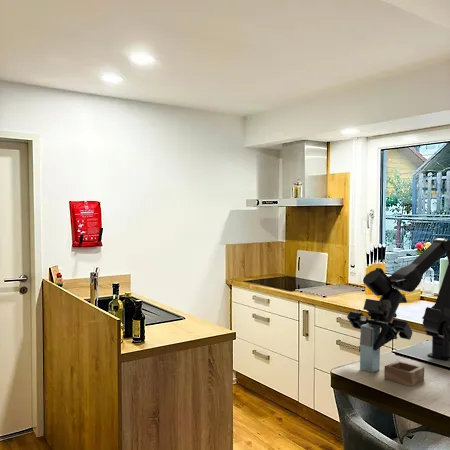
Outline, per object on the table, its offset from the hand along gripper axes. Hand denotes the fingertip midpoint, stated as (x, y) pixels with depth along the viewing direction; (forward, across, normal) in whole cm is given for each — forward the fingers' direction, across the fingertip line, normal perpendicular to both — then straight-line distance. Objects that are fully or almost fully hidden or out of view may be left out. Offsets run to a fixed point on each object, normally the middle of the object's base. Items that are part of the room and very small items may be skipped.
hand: (367, 348), depth 135 cm
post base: (+4, +10, +6) cm, 12 cm away
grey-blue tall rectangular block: (+4, 0, +6) cm, 7 cm away
